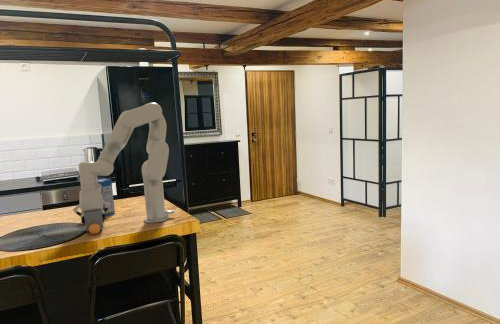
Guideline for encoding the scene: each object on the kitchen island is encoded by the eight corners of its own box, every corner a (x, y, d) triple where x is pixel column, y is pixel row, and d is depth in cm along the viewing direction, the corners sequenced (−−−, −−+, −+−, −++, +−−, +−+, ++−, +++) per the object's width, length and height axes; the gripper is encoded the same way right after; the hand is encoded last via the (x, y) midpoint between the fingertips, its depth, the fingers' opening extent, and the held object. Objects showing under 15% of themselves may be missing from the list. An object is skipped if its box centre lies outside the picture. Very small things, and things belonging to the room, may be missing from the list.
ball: (99, 220, 173) (99, 224, 169) (100, 230, 175) (101, 234, 170) (87, 223, 171) (88, 227, 167) (89, 232, 173) (89, 237, 168)
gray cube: (102, 224, 182) (100, 207, 181) (103, 228, 175) (101, 210, 174) (85, 227, 178) (83, 209, 177) (86, 231, 171) (84, 213, 170)
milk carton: (115, 214, 206) (111, 179, 203) (105, 217, 201) (101, 181, 198) (104, 212, 211) (100, 178, 209) (94, 215, 206) (90, 180, 204)
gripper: (108, 183, 181) (111, 217, 183) (69, 188, 173) (73, 224, 176) (109, 186, 174) (113, 221, 177) (69, 191, 167) (74, 228, 169)
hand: (93, 222), depth 176 cm, fingers closed on gray cube, 7 cm apart
